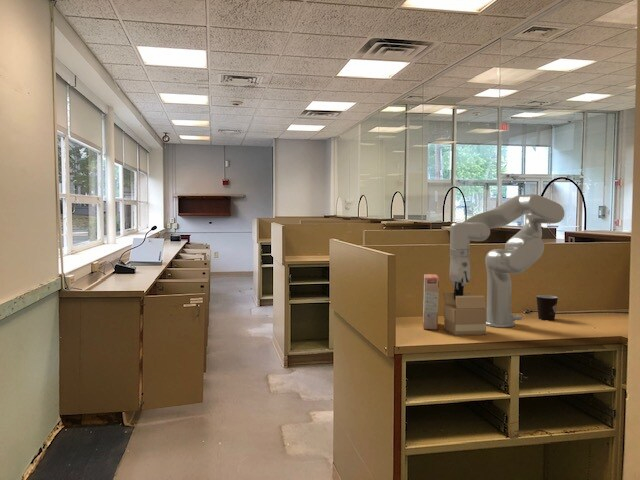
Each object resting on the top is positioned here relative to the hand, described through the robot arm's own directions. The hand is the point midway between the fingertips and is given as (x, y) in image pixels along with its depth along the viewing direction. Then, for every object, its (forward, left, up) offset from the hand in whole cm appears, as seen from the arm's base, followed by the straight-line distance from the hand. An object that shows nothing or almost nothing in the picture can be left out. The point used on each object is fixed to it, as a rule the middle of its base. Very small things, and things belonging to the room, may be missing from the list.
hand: (458, 299), depth 197 cm
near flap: (0, +11, +1) cm, 11 cm away
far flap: (0, -1, 0) cm, 1 cm away
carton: (0, +6, -12) cm, 13 cm away
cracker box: (+10, -5, -12) cm, 16 cm away
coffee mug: (-48, -13, -12) cm, 51 cm away
